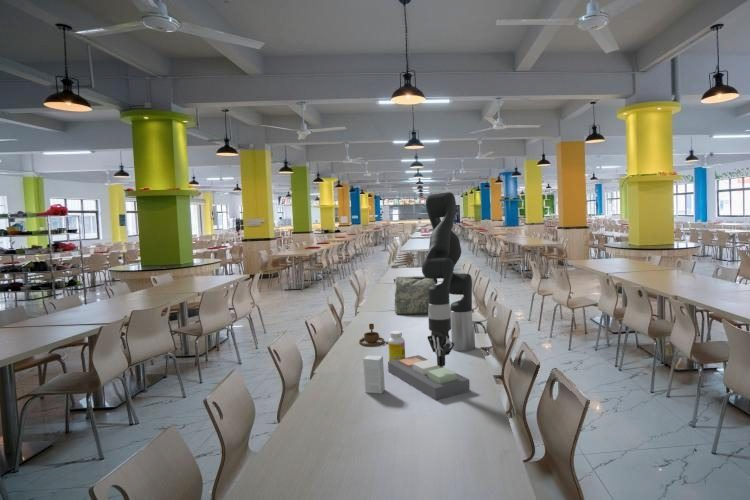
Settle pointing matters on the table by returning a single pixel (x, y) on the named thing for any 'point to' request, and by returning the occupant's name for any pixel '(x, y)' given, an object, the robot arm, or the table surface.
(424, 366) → the grey key
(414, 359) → the terracotta key
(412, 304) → the lunch bag
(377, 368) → the skincare box
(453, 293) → the robot arm
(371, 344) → the place setting
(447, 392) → the keypad
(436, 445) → the table surface
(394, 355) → the supplement bottle
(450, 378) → the sage key
